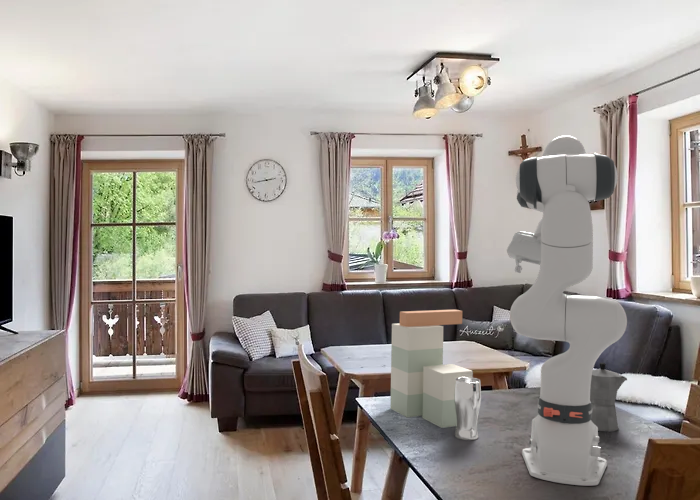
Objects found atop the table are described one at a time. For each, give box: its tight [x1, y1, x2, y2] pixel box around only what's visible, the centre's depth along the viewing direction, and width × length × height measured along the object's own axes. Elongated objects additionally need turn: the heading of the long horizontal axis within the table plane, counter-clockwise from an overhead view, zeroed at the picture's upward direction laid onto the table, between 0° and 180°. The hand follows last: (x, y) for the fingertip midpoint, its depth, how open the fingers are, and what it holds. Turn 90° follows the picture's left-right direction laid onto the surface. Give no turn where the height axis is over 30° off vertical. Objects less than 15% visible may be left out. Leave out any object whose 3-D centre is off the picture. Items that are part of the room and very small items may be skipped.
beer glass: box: [454, 377, 482, 441], centre depth 155 cm, size 7×7×15 cm
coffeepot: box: [590, 362, 628, 433], centre depth 166 cm, size 15×9×18 cm, turn 45°
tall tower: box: [389, 322, 444, 418], centre depth 178 cm, size 12×10×26 cm
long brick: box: [399, 309, 463, 327], centre depth 180 cm, size 20×4×4 cm, turn 115°
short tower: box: [422, 363, 474, 429], centre depth 168 cm, size 10×10×15 cm
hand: (532, 275), depth 175 cm, fingers open, 8 cm apart
